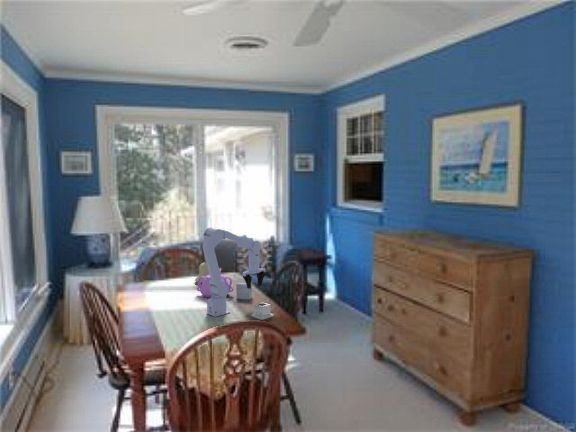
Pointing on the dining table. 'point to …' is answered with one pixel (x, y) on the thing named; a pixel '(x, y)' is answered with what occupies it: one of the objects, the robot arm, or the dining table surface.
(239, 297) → the medicine box
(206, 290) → the teapot
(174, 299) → the dining table surface
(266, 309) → the steel collar
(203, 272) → the handbell
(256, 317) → the post stand
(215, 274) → the robot arm
